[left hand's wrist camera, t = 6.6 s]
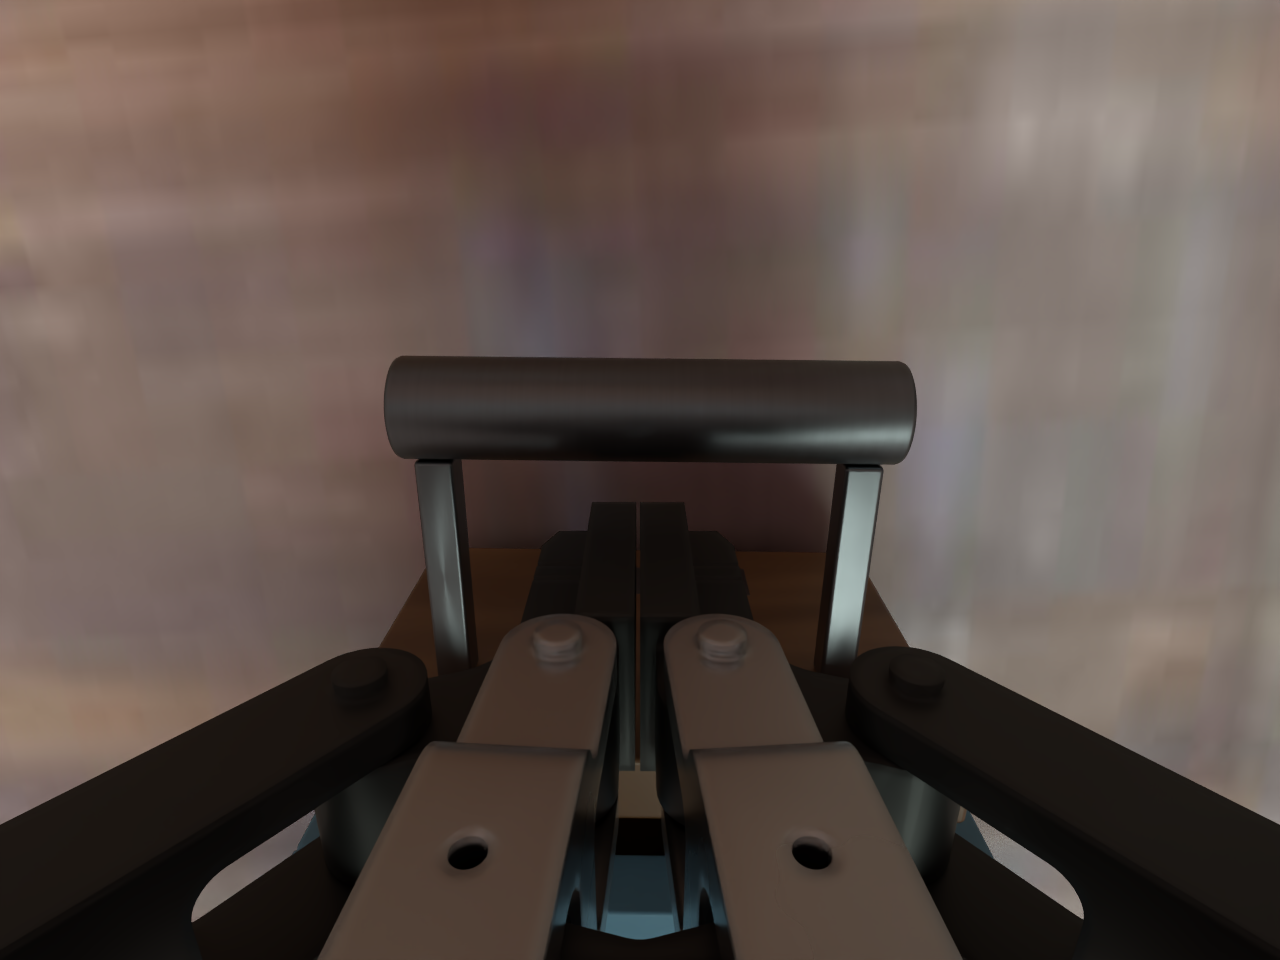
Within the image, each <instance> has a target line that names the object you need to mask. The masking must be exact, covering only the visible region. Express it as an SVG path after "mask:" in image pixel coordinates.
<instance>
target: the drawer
mask: <svg viewBox="0 0 1280 960" xmlns="http://www.w3.org/2000/svg"><path fill="white" fill-rule="evenodd" d="M916 417H917V398H916V389H915V383H914V379H913V376H912V373H911V371H910V369H909V367H908V366H907V365H906V364H904V363H902V362H900V361H826V360H736V359H646V358H557V357H467V356H400V357H398V358H396V359H395V360H394V361H393V362H392V364H391V366H390V368H389V371H388V374H387V378H386V383H385V391H384V418H385V426H386V431H387V435H388V439H389V442H390V445H391V447H392V449H393V451H394V452H395V454H396V455H397V456H399V457H401V458H404V459H418V460H417V461H416V462H415V473H416V482H417V491H418V500H419V509H420V518H421V527H422V536H423V545H424V554H425V563H426V569H425V570H424V572H423V574H422V575H421V577H420V579H419V581H418V582H417V584H416V586H415V587H414V589H413V591H412V592H411V594H410V596H409V597H408V599H407V601H406V603H405V604H404V606H403V608H402V609H401V611H400V613H399V614H398V616H397V618H396V619H395V621H394V623H393V625H392V626H391V628H390V630H389V631H388V633H387V635H386V636H385V638H384V640H383V641H382V643H381V645H380V646H379V648H394V649H400V650H404V651H407V652H410V653H412V654H414V655H416V656H417V657H418V658H420V659H421V660H422V661H423V663H424V664H425V666H426V669H427V675H428V678H431V677H436V676H441V675H446V674H451V673H456V672H460V671H464V670H468V669H471V668H474V667H477V666H480V665H482V664H485V663H487V662H489V661H491V660H493V659H494V656H495V654H496V652H497V650H498V647H499V645H500V643H501V641H502V639H503V638H504V636H505V635H506V634H507V633H508V632H509V631H510V630H512V629H513V628H514V627H516V626H517V625H519V624H520V623H521V620H522V616H523V613H524V609H525V606H526V602H527V598H528V595H529V591H530V588H531V584H532V581H533V580H534V574H535V570H536V567H537V566H538V559H539V556H540V552H541V549H512V548H469V543H468V531H467V519H466V508H465V496H464V485H463V473H462V462H461V459H473V460H556V461H639V462H723V463H806V464H837V465H836V473H835V482H834V491H833V499H832V508H831V517H830V525H829V534H828V542H827V551H826V552H747V551H735V553H736V556H737V560H738V566H739V568H740V571H741V575H742V580H743V582H744V586H745V590H746V594H747V597H748V601H749V605H750V608H751V612H752V616H753V620H754V621H755V622H757V623H759V624H761V625H763V626H764V627H766V628H767V629H768V630H770V631H771V632H772V633H773V634H774V635H775V636H776V638H777V639H778V641H779V643H780V645H781V647H782V650H783V652H784V654H785V656H786V659H787V661H788V663H790V664H792V665H794V666H797V667H800V668H802V669H805V670H809V671H813V672H818V673H823V674H827V675H832V676H837V677H842V678H847V679H849V675H850V668H851V665H852V663H853V661H854V660H855V659H856V658H857V657H858V656H859V655H861V654H862V653H864V652H866V651H868V650H872V649H875V648H880V647H887V646H901V647H909V646H908V644H907V642H906V640H905V639H904V637H903V635H902V633H901V632H900V630H899V628H898V626H897V625H896V623H895V621H894V620H893V618H892V616H891V614H890V613H889V611H888V609H887V607H886V606H885V604H884V602H883V600H882V599H881V597H880V595H879V593H878V592H877V590H876V588H875V587H874V585H873V583H872V581H871V580H870V578H869V570H870V563H871V556H872V549H873V542H874V535H875V527H876V520H877V513H878V506H879V499H880V492H881V485H882V478H883V468H882V466H881V465H880V464H890V465H894V464H897V463H900V462H901V461H903V460H904V459H905V457H906V456H907V454H908V452H909V449H910V447H911V444H912V441H913V437H914V432H915V426H916ZM618 795H619V827H618V835H617V843H616V851H615V855H656V856H665V851H664V843H663V835H662V827H661V804H660V802H659V800H658V797H657V791H656V771H640V550H636V714H635V771H619V788H618ZM966 812H967V810H966V809H964V808H963V807H961V806H960V811H959V816H958V821H957V823H961V822H963V821H964V820H965V817H966Z"/></svg>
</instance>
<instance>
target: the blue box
mask: <svg viewBox="0 0 1280 960" xmlns="http://www.w3.org/2000/svg"><path fill="white" fill-rule="evenodd" d="M955 833H957V834H958V835H959V836H961V837H962V838H964V839H965V840H967V841H968V842H970V843H971V844H973V845H974V846H976V847H977V848H978V849H980V850H981V851H983V852H984V853H986V854H987V855H989V856H990V857H992V858H993V856H992V854H991V852H990V850H989V848H988V846H987V844H986V842H985V840H984V838H983V836H982V834H981V833H980V831H979V829H978V827H977V825H976V823H975V821H974V819H973V817H972V815H971V813H970V812H969V811H968V810H967V812H966V817H965V820H964V821H963V822H961V823H957V825H956V830H955ZM319 836H320V834H319V829H318V825H317V820H316V815H314V816H313V818H312V820H311V822H310V824H309V826H308V828H307V829H306V831H305V833H304V835H303V837H302V839H301V841H300V843H299V844H298V847H297V850H296V851H294V852H293V854H294V853H296V852H297V851H299V850H300V849H302V848H303V847H304V846H306V845H307V844H309V843H310V842H312V841H313V840H315V839H316V838H318V837H319ZM293 854H292V855H293ZM993 859H994V858H993ZM605 932H606V933H610V934H614V935H618V936H622V937H625V938H631V939H649V938H655V937H658V936H662V935H666V934H670V933H674V932H675V929H674V922H673V914H672V906H671V898H670V890H669V882H668V874H667V867H666V859H665V856H656V855H615V859H614V867H613V874H612V882H611V890H610V898H609V906H608V914H607V922H606V929H605Z"/></svg>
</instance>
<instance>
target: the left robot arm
mask: <svg viewBox="0 0 1280 960" xmlns="http://www.w3.org/2000/svg"><path fill="white" fill-rule="evenodd" d="M635 714H636V502H592V506H591V512H590V518H589V525H588V531H559V532H558V533H557V534H555V535H554V536H553V537H552V538H551V539H550V540H548V541H547V542H546V543H545V544H544V545H543V546H542V549H541V552H540V556H539V559H538V566H537V567H536V570H535V574H534V580H533V581H532V584H531V588H530V591H529V595H528V598H527V602H526V606H525V609H524V613H523V616H522V620H521V623H520V624H519V625H517V626H516V627H514V628H513V629H512V630H510V631H509V632H508V633H507V634H506V635H505V636H504V638H503V639H502V641H501V643H500V645H499V647H498V650H497V652H496V654H495V656H494V659H493V660H491V661H489V662H487V663H485V664H482V665H480V666H477V667H474V668H471V669H468V670H464V671H460V672H456V673H451V674H446V675H441V676H436V677H431V678H428V675H427V669H426V666H425V664H424V663H423V661H422V660H421V659H420V658H418V657H417V656H416V655H414V654H412V653H410V652H407V651H404V650H400V649H394V648H369V649H363V650H357V651H353V652H349V653H346V654H343V655H340V656H337V657H335V658H333V659H331V660H328V661H326V662H324V663H322V664H320V665H318V666H316V667H314V668H312V669H310V670H308V671H306V672H304V673H302V674H300V675H298V676H296V677H294V678H292V679H290V680H288V681H286V682H284V683H282V684H280V685H278V686H276V687H274V688H272V689H270V690H268V691H266V692H264V693H262V694H260V695H258V696H256V697H254V698H252V699H250V700H248V701H246V702H244V703H242V704H240V705H238V706H236V707H234V708H232V709H230V710H228V711H226V712H224V713H222V714H220V715H218V716H216V717H214V718H212V719H210V720H208V721H206V722H204V723H202V724H200V725H198V726H196V727H194V728H192V729H191V730H189V731H187V732H185V733H183V734H181V735H179V736H177V737H175V738H173V739H171V740H169V741H167V742H165V743H163V744H161V745H159V746H157V747H155V748H153V749H151V750H149V751H147V752H145V753H143V754H141V755H139V756H137V757H135V758H133V759H131V760H129V761H127V762H125V763H123V764H121V765H119V766H117V767H115V768H113V769H111V770H109V771H107V772H105V773H103V774H101V775H99V776H97V777H95V778H93V779H91V780H89V781H87V782H85V783H83V784H81V785H79V786H77V787H75V788H73V789H71V790H69V791H67V792H65V793H63V794H61V795H59V796H57V797H55V798H53V799H51V800H49V801H47V802H45V803H43V804H41V805H39V806H37V807H35V808H33V809H31V810H29V811H27V812H25V813H23V814H21V815H19V816H17V817H15V818H13V819H11V820H9V821H7V822H5V823H3V824H1V825H0V960H1280V825H1279V824H1277V823H1275V822H1273V821H1271V820H1269V819H1267V818H1265V817H1263V816H1261V815H1259V814H1257V813H1255V812H1253V811H1251V810H1249V809H1247V808H1245V807H1243V806H1241V805H1239V804H1237V803H1235V802H1233V801H1231V800H1229V799H1227V798H1225V797H1223V796H1221V795H1219V794H1217V793H1215V792H1213V791H1211V790H1209V789H1207V788H1205V787H1203V786H1201V785H1199V784H1197V783H1195V782H1193V781H1191V780H1189V779H1187V778H1185V777H1183V776H1181V775H1179V774H1177V773H1175V772H1173V771H1171V770H1169V769H1167V768H1165V767H1163V766H1161V765H1159V764H1157V763H1155V762H1153V761H1151V760H1149V759H1147V758H1145V757H1143V756H1141V755H1139V754H1137V753H1135V752H1133V751H1131V750H1129V749H1127V748H1125V747H1123V746H1121V745H1119V744H1117V743H1115V742H1113V741H1111V740H1109V739H1107V738H1105V737H1103V736H1101V735H1099V734H1097V733H1095V732H1093V731H1091V730H1089V729H1087V728H1085V727H1083V726H1081V725H1079V724H1077V723H1076V722H1074V721H1072V720H1070V719H1068V718H1066V717H1064V716H1062V715H1060V714H1058V713H1056V712H1054V711H1052V710H1050V709H1048V708H1046V707H1044V706H1042V705H1040V704H1038V703H1036V702H1034V701H1032V700H1030V699H1028V698H1026V697H1024V696H1022V695H1020V694H1018V693H1016V692H1014V691H1012V690H1010V689H1008V688H1006V687H1004V686H1002V685H1000V684H998V683H996V682H994V681H992V680H990V679H988V678H986V677H984V676H982V675H980V674H978V673H976V672H974V671H972V670H970V669H968V668H966V667H964V666H962V665H960V664H958V663H956V662H954V661H952V660H950V659H948V658H945V657H943V656H941V655H938V654H935V653H932V652H929V651H926V650H922V649H917V648H911V647H901V646H887V647H880V648H875V649H872V650H868V651H866V652H864V653H862V654H861V655H859V656H858V657H857V658H856V659H855V660H854V661H853V663H852V665H851V668H850V675H849V679H847V678H842V677H837V676H832V675H827V674H823V673H818V672H813V671H809V670H805V669H802V668H800V667H797V666H794V665H792V664H790V663H788V661H787V659H786V656H785V654H784V652H783V650H782V647H781V645H780V643H779V641H778V639H777V638H776V636H775V635H774V634H773V633H772V632H771V631H770V630H768V629H767V628H766V627H764V626H763V625H761V624H759V623H757V622H755V621H754V620H753V616H752V612H751V608H750V605H749V601H748V597H747V594H746V590H745V586H744V582H743V580H742V575H741V571H740V568H739V566H738V560H737V556H736V553H735V549H734V546H733V545H732V544H731V543H730V542H729V541H727V540H726V539H725V538H724V537H723V536H722V535H720V534H719V533H718V532H717V531H688V526H687V519H686V512H685V505H684V502H640V771H656V791H657V797H658V800H659V802H660V804H661V827H662V835H663V843H664V851H665V859H666V867H667V874H668V882H669V890H670V898H671V906H672V914H673V922H674V929H675V932H674V933H670V934H666V935H662V936H658V937H655V938H649V939H631V938H625V937H622V936H618V935H614V934H610V933H606V932H605V929H606V922H607V914H608V906H609V898H610V890H611V882H612V874H613V867H614V859H615V851H616V843H617V835H618V827H619V795H618V788H619V771H635ZM960 806H961V807H963V808H964V809H966V810H968V811H969V812H971V813H972V814H974V815H975V816H977V817H978V818H980V819H981V820H983V821H984V822H986V823H987V824H989V825H990V826H992V827H994V828H995V829H997V830H998V831H1000V832H1001V833H1003V834H1004V835H1006V836H1007V837H1009V838H1010V839H1012V840H1013V841H1015V842H1017V843H1018V844H1020V845H1021V846H1023V847H1024V848H1026V849H1027V850H1029V851H1030V852H1032V853H1033V854H1035V855H1036V856H1038V857H1040V858H1041V859H1043V860H1044V861H1046V862H1047V863H1049V864H1050V865H1051V866H1053V867H1054V868H1055V869H1057V870H1058V871H1059V872H1060V873H1061V874H1062V875H1063V876H1064V877H1065V878H1066V879H1067V880H1068V881H1069V883H1070V884H1071V885H1072V887H1073V888H1074V889H1075V891H1076V893H1077V895H1078V896H1079V899H1080V901H1081V903H1082V907H1083V911H1084V920H1083V919H1081V918H1080V917H1078V916H1076V915H1075V914H1073V913H1072V912H1070V911H1069V910H1067V909H1066V908H1065V907H1063V906H1062V905H1060V904H1059V903H1057V902H1056V901H1054V900H1053V899H1051V898H1050V897H1048V896H1047V895H1046V894H1044V893H1043V892H1041V891H1040V890H1038V889H1037V888H1035V887H1034V886H1032V885H1031V884H1030V883H1028V882H1027V881H1025V880H1024V879H1022V878H1021V877H1019V876H1018V875H1016V874H1015V873H1013V872H1012V871H1011V870H1009V869H1008V868H1006V867H1005V866H1003V865H1002V864H1000V863H999V862H997V861H996V860H995V859H993V858H992V857H990V856H989V855H987V854H986V853H984V852H983V851H981V850H980V849H978V848H977V847H976V846H974V845H973V844H971V843H970V842H968V841H967V840H965V839H964V838H962V837H961V836H959V835H958V834H957V833H955V830H956V825H957V821H958V816H959V811H960ZM312 810H315V815H316V820H317V825H318V829H319V834H320V836H319V837H318V838H316V839H315V840H313V841H312V842H310V843H309V844H307V845H306V846H304V847H303V848H302V849H300V850H299V851H297V852H296V853H294V854H293V855H291V856H290V857H288V858H287V859H285V860H284V861H283V862H281V863H280V864H278V865H277V866H275V867H274V868H272V869H271V870H269V871H268V872H267V873H265V874H264V875H262V876H261V877H259V878H258V879H256V880H255V881H253V882H252V883H250V884H249V885H248V886H246V887H245V888H243V889H242V890H240V891H239V892H237V893H236V894H234V895H233V896H231V897H230V898H229V899H227V900H226V901H224V902H223V903H221V904H220V905H218V906H217V907H215V908H214V909H213V910H211V911H210V912H208V913H207V914H205V915H204V916H202V917H201V918H199V919H198V920H196V921H194V922H191V916H192V911H193V907H194V905H195V902H196V900H197V898H198V896H199V895H200V893H201V891H202V890H203V889H204V887H205V886H206V885H207V884H208V883H209V881H210V880H211V879H212V878H213V877H214V876H215V875H217V874H218V873H219V872H220V871H221V870H223V869H224V868H225V867H227V866H228V865H230V864H231V863H233V862H234V861H236V860H237V859H239V858H240V857H242V856H244V855H245V854H247V853H248V852H250V851H251V850H253V849H254V848H256V847H257V846H259V845H260V844H262V843H263V842H265V841H267V840H268V839H270V838H271V837H273V836H274V835H276V834H277V833H279V832H280V831H282V830H283V829H285V828H286V827H288V826H289V825H291V824H293V823H294V822H296V821H297V820H299V819H300V818H302V817H303V816H305V815H306V814H308V813H309V812H311V811H312Z"/></svg>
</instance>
